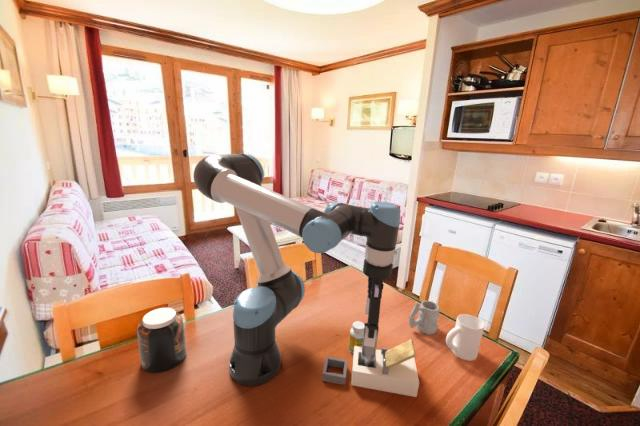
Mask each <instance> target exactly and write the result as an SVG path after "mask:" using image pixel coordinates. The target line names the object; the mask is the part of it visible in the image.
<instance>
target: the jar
mask: <svg viewBox="0 0 640 426" xmlns="http://www.w3.org/2000/svg"><path fill="white" fill-rule="evenodd" d="M136 333H137V334H136V335H137V343H138V351H139V357H140V364H141V368H142V369H143V370H144V371H145V372H147V373H152V374H158V373H163V372H167V371H169V370H172V369H174V368H175V367H177V366H179V365H180V364H181V363H182V362H183V361H184V360H185V358H186V356H187V347H186V336H185V325H184V319H183V316H182V314H180V313H179V312H176V309H174V308H173V307H159V308H155V309H153V310H151V311H149V312H147V313H146V314H145V315H144V316H143V317H142V320H141V321H140V322H139V323H138V325H137V329H136Z"/></svg>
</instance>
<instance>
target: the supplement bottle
mask: <svg viewBox="0 0 640 426" xmlns="http://www.w3.org/2000/svg"><path fill="white" fill-rule="evenodd" d="M364 323H365V322H362V321H360V320H357V321H354V322H352V325H351V328H350V330H349V338H348V339H349V340H348V350H349V352H350V353H351V354H352V355H354V346H359V347H362V344H363V335H364Z"/></svg>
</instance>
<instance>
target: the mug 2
mask: <svg viewBox="0 0 640 426" xmlns="http://www.w3.org/2000/svg"><path fill="white" fill-rule="evenodd" d="M484 329H485V324H484V321H483V320H482V319H480V318H478V317H476V316H475V315H471V314H467V313H460V314H459V315H458V316H456V321H455V326H454V327H453V328H451V329H450V330H449V331H448V333H446V334H447V335H446V338H445V344H446V346H447V347H448V349H450V350H451V351H452V353H453V354H454V355H455V356H456V357H458V358H459V359H461V360H464V361H467V362H468V361H469V362H470V361H472V362H473V361H475V360H476V359H477V358H478V355H479V350H480V347H481V342H482V337H483V334H484Z"/></svg>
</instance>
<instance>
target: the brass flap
mask: <svg viewBox="0 0 640 426" xmlns="http://www.w3.org/2000/svg"><path fill="white" fill-rule="evenodd" d="M416 356H417V355H416V350H415V346H414V341H413V339H408V340H406V341H404V342H402V343H400V344H398V345H396V346H394V347H392V348H390V349H387V351H385V352H383V366H384V367H389V368H391V367H393V366H396V365H398V364H400V363H402V362H404V361H407V360H409V359H411V358H413V357H414V358H415V357H416Z"/></svg>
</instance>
